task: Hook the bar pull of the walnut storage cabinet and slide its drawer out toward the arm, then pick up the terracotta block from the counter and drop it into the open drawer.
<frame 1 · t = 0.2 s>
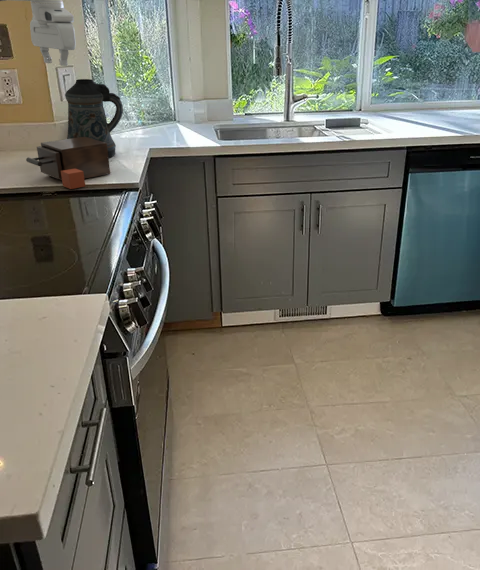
hand: (55, 64, 179), 31 cm above the countertop, tool pointing down, fingers open, 8 cm apart
drawer: (61, 160, 179), point 5 cm above the countertop, slide at 0.5 cm
cabinet: (78, 173, 184), on the countertop
block: (74, 186, 172), on the countertop
dark grey pitcher: (96, 154, 207), on the countertop
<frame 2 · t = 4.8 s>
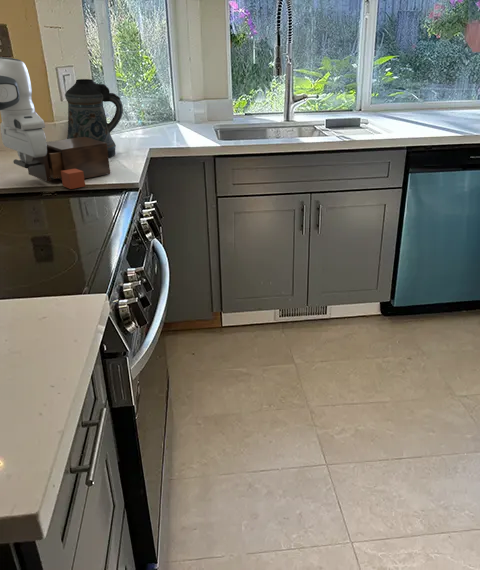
hand: (27, 167, 172), 5 cm above the countertop, tool pointing down, fingers closed, pressing on drawer
drawer: (50, 162, 176), point 5 cm above the countertop, slide at 4.2 cm, touching gripper
everything else where it was.
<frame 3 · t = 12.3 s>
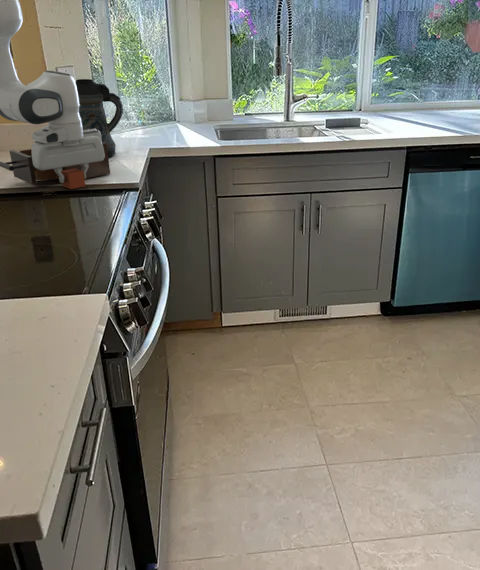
hand: (73, 180, 171), 2 cm above the countertop, tool pointing down, fingers closed on block, 4 cm apart
drawer: (35, 164, 173), point 5 cm above the countertop, slide at 8.6 cm
block: (74, 186, 172), on the countertop, touching gripper
everything else where it was.
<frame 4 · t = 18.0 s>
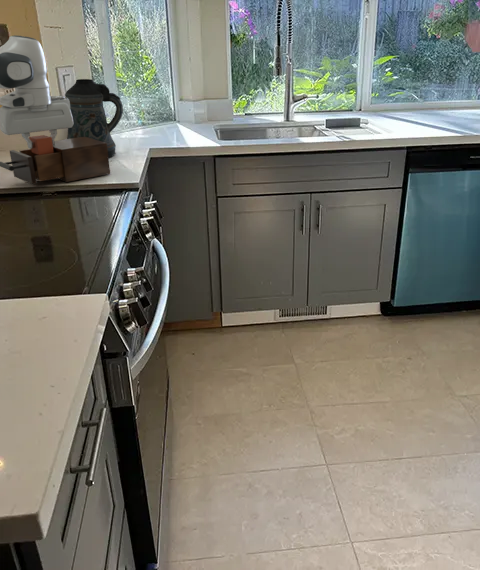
hand: (41, 146, 173), 10 cm above the countertop, tool pointing down, fingers closed on block, 4 cm apart
block: (42, 152, 174), point 8 cm above the countertop, touching gripper
everything else where it was.
when the fingers open (13 cm above the countertop, at t = 34.7 s): block drops 9 cm, resting on drawer.
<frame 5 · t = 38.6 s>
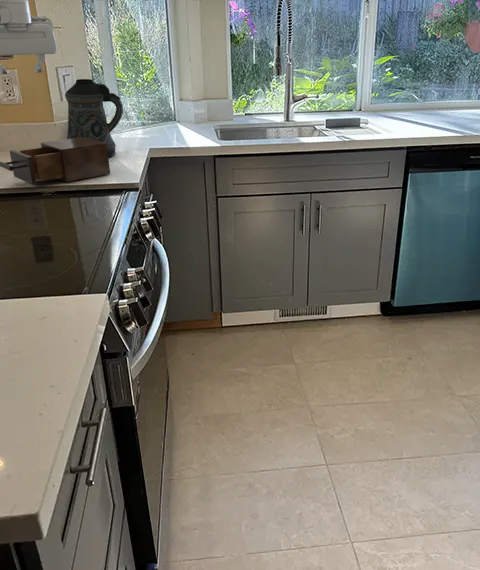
hand: (21, 73, 155), 31 cm above the countertop, tool pointing down, fingers open, 8 cm apart
drawer: (35, 164, 173), point 5 cm above the countertop, slide at 8.6 cm, touching block
block: (45, 172, 176), point 2 cm above the countertop, touching drawer
everything else where it was.
at the end: drawer slide at 8.6 cm; block inside the target area in the drawer (1.6 cm from its centre), point 2.0 cm above the cabinet's base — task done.
